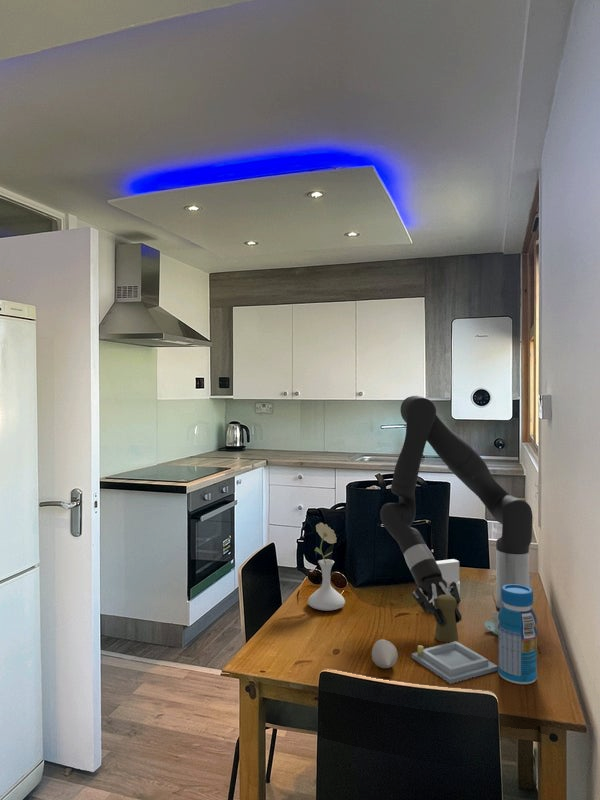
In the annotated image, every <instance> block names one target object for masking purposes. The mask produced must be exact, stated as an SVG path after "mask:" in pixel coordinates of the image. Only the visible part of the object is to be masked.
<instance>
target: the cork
mask: <svg viewBox="0 0 600 800" xmlns="http://www.w3.org/2000/svg"><path fill="white" fill-rule="evenodd" d="M436 602H437V605H438V607H439V609H440V610H441V612H442V614H443V616H444V618H445V620H446V624H445V625H444V626H440V625H439V624H438V623H437V622H436V625H435V632H434V638H435V639H436V640H437V641H439V642H442V643H445V644H446V643H448V642H449V643H450V642H454V641H457V642H458V641H459V633H458V626H457V625H458V624H457V623H456V617H455V608H456V605H458V604H457V602H456V599H455V598H454V597H453V596H451V595H440V596H438V598H437V601H436ZM439 609H438V610H439Z"/></svg>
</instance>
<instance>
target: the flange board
mask: <svg viewBox="0 0 600 800" xmlns="http://www.w3.org/2000/svg"><path fill="white" fill-rule="evenodd" d="M411 659H413V660H415V661H416V662H418V663H419V664H420V665H422V666H424V667H425V668H426V669H428V670H429V669H430V670H429V671H431V672H432V671H433V672H432V673H433V674H435V675H436V676H437V677H439V676H440V678H441V677H442V678H443V679H442V678H441V679H442V680H443V681H445V680H446V681H445V682H447V683H448V682H449V683H448V684H450V685H452V683H453V684H455V682H456V683H460V682H463V681H466V680H469V678H470V679H473V678H476V677H481V676H483V675H487V674H490V673H493V672H498V665H497V664H495V663H494V662H491V661H490V660H489V659H488V658H486V657H484V656H483V655H481V654H479V653H477V652H476V651H474V650H472V649H471V648H469V647H467V646H465V645H464V644H462V643H461V642H458V641H454V642H450V643H446V642H445V643H443V644H439V645H434V646H431V647H426V648H424V646H423V645H421V644H419V645H417V652H416V651H415V652H413V653H411ZM472 677H473V678H472ZM462 680H463V681H462ZM459 681H460V682H459Z"/></svg>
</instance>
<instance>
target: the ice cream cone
mask: <svg viewBox="0 0 600 800" xmlns="http://www.w3.org/2000/svg"><path fill="white" fill-rule="evenodd" d="M398 654H399V653H398V650H397V648H396V646H395V645H394V644H393V643H392V642H390V641H388V640H387V639H379V640H376V642H374V645H373V647H372V650H371V659H372V661H373V663H374V665H376V666H377V667H379V668H381V669H389V668H392V667H393V666H394V665H396V663H397V660H398V658H399V657H398V656H399V655H398Z"/></svg>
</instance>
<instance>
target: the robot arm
mask: <svg viewBox="0 0 600 800" xmlns="http://www.w3.org/2000/svg"><path fill="white" fill-rule="evenodd" d="M400 405H401V406H400V410H399V411H400V414H401V418H402V420H403V421H404V423H406V428H405V429H406V430H405V436H404V440H403V441H404V442H403V446H402V448H401V451H400V453H399V456H398V457H397V461H396V463H395V466H394V471H393V475H392V476H393V477H392V479H391V480H392V481H391V486H390V487H391V488H390V491H391V493H392V494H393V495H395V496H398V502H397V503H396V502H388V503H385V504H383V505H382V507H381V509H380V511H379V512H380V516H379V517H380V520H381V523H382V525H383V527H384V528H385V529H386V530H387V532H388V533H389V534H390V536H391V537H392V538H393V539H394V541H396V542H397V544H398V546H399V549H400V551H401V552H402V555H403V556H404V559H405V563H406V564H407V567H408V568H409V571H410V573H411V575H412V578H413V579H414V581H415V584H416V585H417V586H418V588H415V589H414V591H413V592H412V593H411V595H412V597H413V598H414V599H415V601H416V602H417V603H418V605H419V606H420V607H421V609H422V610H423V611H424V612H425V613H431V614H432V615H433V617H434V619H435V621H436V623H438V624H439V625H440V626H444V625H445V624H446V620H445V618H444V616H443V614H442V612H441V610H440V609H439V607H438V605H437V602H436V601H437V598H438V596H440V595H451V596H453V597H454V598H455V599H456V602H457V605H459V604H460V603H461V597H460V596H461V595H460V596H459V593H458V589H457V585H456V583H455V582H452V583H446V581H445V580H444V579H443V578H442V573H441V571H440V569H439V567H438V565H437V563H436V561H437V560H436V559H435V557H434V555H433V553H432V551H431V550H430V549H429V547H428V546H427V543H426V542H425V540H424V538H423V536H422V534H421V533H420V531H419V530H418V529H417V528H415V527H411V525H412V524H413V523H414V521H415V519H416V513H417V510H416V508H417V507H416V496H415V495H416V494H415V493H416V492H415V491H416V487H417V481H418V477H419V472H420V467H421V463H422V458H423V454H424V450H425V447H426V444H427V443H428V444H429V446H431V448H432V449H433V451H434V452H435V453H436V454H437V456H438V457H439V458H440V460H442V462H443V463H444V464H445V466H447V468H448V469H449V470H450V471H451V472H452V473H453V474H454V476H455V477H457V478H458V479H459V480H460V481H461V482H462V483H463V484H464V485H465V486H466V487H467V488H468V489H469V490H470V491H472V492H473V494H475V495H476V496H477V497H478V498H479V500H480V501H481V502H482V503H483V505H484V506H485V507H486V509H487V510H488V512H489V513H490V514H491V515H492V517H493V518H494V520H496V521H497V523H499V524H500V525H502V526H501V527H502V528H501V529H502V530H501V537H499V538H497V539H496V541H495V543H496V545H495V547H496V548H495V553H496V555H495V556H496V557H495V559H496V560H495V561H496V562H495V569H496V570H495V571H496V574H495V576H496V578H495V579H496V580H495V586H496V587H495V588H496V591H495V593H496V596H495V598H496V599H495V600H496V602H495V604H496V605H495V606H496V607H497V608H498V609H499V610H500V609H501V607H502V606H503V605H504V603H503V602H502V599H501V589H502V587H503V586H504V585H508V584H517V585H523V586H526V587H529V588H530V589H532V576H531V575H530V553H529V552H530V545H531V543H532V539H533V519H534V518H533V511H532V507H531V505H530V504H529V503H528V502H527V501H526V500H523V499H521V498H519V497H517V496H513V495H511V494H510V493H509V492H508V491H507V490H505V488H503V487H502V486H501V484H499V483H498V482H497V481H496V480H495V478H494V477H493V475H492V473H491V471H490V469H489V467H488V465H487V463H486V462H485V461H484V459H483V458H482V457H481V455H480V454H479V453H478V452H477V451H476V450H475V449H474V448H473V447H472V446H471V445H470V444H469V443H468V442H467V441H466V440H465V439H464V438H462V437H461V436H460V435H458V434H457V433H456V432H455V431H453V430H452V429H450V428H449V427H448V426H447V425H446V424H445V423H444V422H443V421H442V420H441V418H440V417H438V415H437V407H436V406H435V404H434V402H433V401H432V400H431V399H430V398H427V397H424V396H420V395H411V396H409V397H408V396H407V397H406V398H404V400H403V401H402V403H401V404H400ZM447 589H448V590H447ZM457 605H456V608H455V617H456V624H458V623H460V622H461V621H462V614H461V613H460V610H459V608H458V607H457ZM438 609H439V610H438Z"/></svg>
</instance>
